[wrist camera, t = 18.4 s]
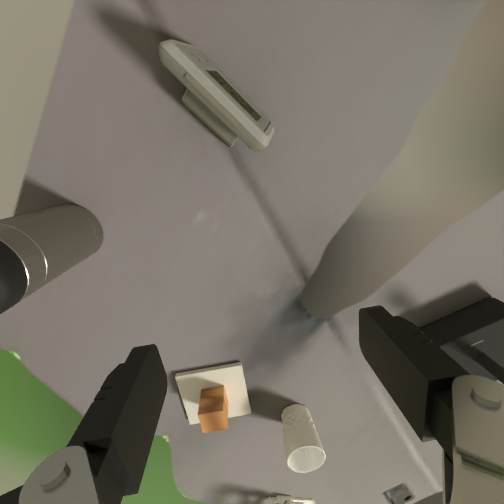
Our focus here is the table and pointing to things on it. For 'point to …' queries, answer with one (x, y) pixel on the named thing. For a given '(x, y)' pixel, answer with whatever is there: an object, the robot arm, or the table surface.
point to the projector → (473, 338)
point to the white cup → (301, 440)
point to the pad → (214, 377)
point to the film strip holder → (289, 500)
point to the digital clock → (215, 96)
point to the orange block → (213, 409)
